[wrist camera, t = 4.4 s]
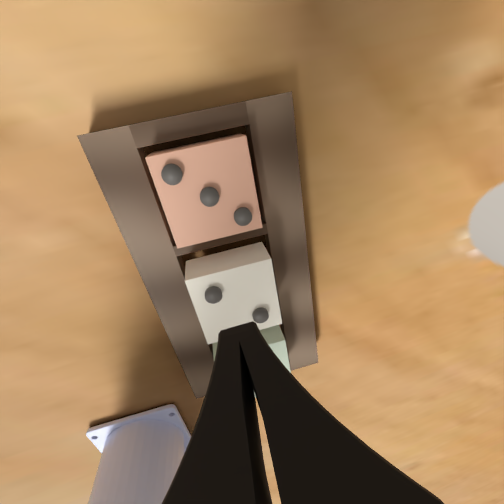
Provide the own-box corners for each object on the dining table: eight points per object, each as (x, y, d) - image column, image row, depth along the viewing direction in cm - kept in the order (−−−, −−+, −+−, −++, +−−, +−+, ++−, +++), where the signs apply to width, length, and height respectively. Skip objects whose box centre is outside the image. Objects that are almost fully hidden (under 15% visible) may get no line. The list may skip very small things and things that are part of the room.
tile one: (284, 361, 23) (294, 389, 20) (226, 378, 22) (230, 409, 20) (275, 317, 20) (286, 343, 18) (211, 334, 20) (213, 363, 18)
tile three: (254, 214, 18) (263, 229, 15) (179, 232, 17) (177, 251, 15) (239, 133, 15) (247, 136, 13) (152, 152, 15) (143, 158, 13)
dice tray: (311, 348, 25) (318, 362, 24) (196, 382, 24) (196, 398, 23) (283, 93, 15) (291, 91, 14) (88, 133, 15) (77, 135, 13)
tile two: (273, 301, 20) (283, 326, 17) (206, 319, 19) (208, 347, 17) (262, 241, 17) (272, 260, 15) (185, 260, 17) (184, 283, 15)
